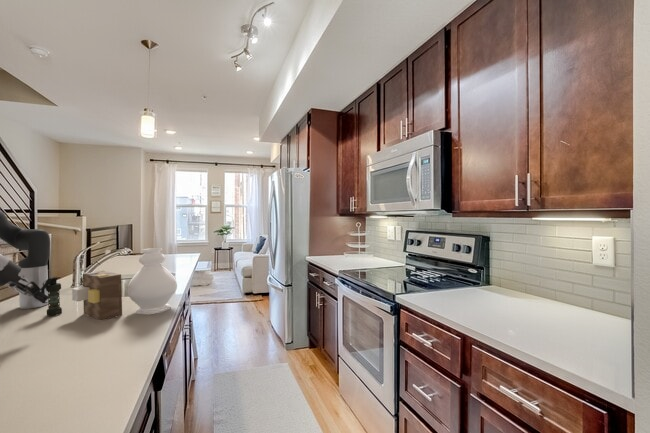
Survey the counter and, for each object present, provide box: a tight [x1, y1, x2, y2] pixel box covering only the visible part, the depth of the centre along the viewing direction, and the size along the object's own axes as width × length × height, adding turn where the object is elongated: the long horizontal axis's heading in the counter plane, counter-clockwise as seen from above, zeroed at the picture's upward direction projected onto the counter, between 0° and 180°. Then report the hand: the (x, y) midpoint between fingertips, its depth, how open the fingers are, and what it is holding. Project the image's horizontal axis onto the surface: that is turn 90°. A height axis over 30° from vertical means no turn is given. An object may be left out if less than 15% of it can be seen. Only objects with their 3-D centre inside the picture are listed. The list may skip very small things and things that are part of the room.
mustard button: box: [88, 289, 100, 303], centre depth 118 cm, size 4×6×4 cm
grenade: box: [41, 276, 63, 317], centre depth 122 cm, size 6×6×15 cm
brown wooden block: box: [82, 270, 123, 322], centre depth 122 cm, size 15×7×16 cm, turn 58°
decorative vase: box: [127, 247, 178, 315], centre depth 128 cm, size 18×18×25 cm
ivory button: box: [71, 286, 90, 303], centre depth 120 cm, size 4×6×4 cm
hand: (45, 300), depth 105 cm, fingers closed
